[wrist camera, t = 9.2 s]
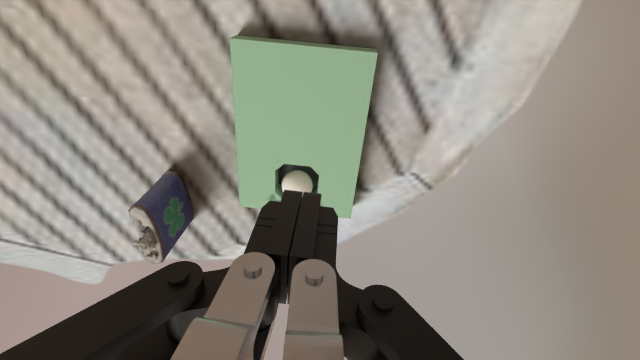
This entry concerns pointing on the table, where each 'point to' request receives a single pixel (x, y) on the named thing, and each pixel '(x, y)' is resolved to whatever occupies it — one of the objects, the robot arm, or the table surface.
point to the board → (299, 116)
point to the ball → (297, 181)
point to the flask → (162, 216)
